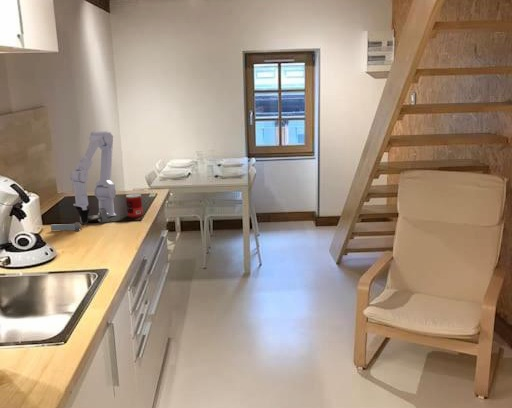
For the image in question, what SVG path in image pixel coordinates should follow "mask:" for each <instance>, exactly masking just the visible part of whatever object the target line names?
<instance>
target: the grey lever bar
mask: <svg viewBox="0 0 512 408" xmlns="http://www.w3.org/2000/svg"><path fill="white" fill-rule="evenodd" d="M50 229H51V231H52V232H54V231H74V230H80V229H81V223H80V221H76V222H74V223H61V224H60V223H59V224H57V223H56V224H55V223H54V224H50Z"/></svg>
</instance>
